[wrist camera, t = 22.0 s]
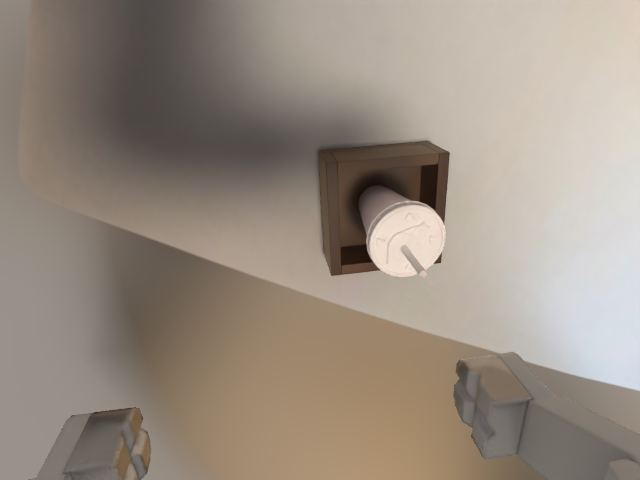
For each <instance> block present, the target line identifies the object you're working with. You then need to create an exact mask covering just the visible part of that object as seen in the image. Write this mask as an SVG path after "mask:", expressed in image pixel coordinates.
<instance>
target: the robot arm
mask: <svg viewBox="0 0 640 480" xmlns="http://www.w3.org/2000/svg"><path fill="white" fill-rule="evenodd" d="M456 373H457V375H458V377H459V378H460V379H459V380H458V381H457V383H456V384H455V385H454V400H455V406H456V408H457V411H458V414H459V416H460V418H461V419H462V421H463V422H464V423H465V424H467V425H468V426H470V427H471V428H472V434H471V437H472V439H473V441H474V443H475V444H476V446H477V448H478V450H479V451H480V453H481V455H482V457H483V458H484V459H491V458H499V457H506V456H512V455H517V457H518V458H519V459H521V460H522V461H523V462H525V463H526V464H527V465H529V466H530V467H531V468H532V469H534V470H535V471H536V472H538V473H539V474H540V475H541V476H543V477H544V478H545V479H547V480H640V434H638V433H636V432H633V431H632V430H629V429H627V428H625V427H623V426H621V425H619V424H617V423H615V422H613V421H611V420H609V419H607V418H605V417H603V416H601V415H599V414H597V413H595V412H593V411H591V410H589V409H587V408H585V407H583V406H581V405H579V404H577V403H575V402H573V401H571V400H568V399H566V398H564V397H562V396H554V395H553V394H552V392H551V391H550V390H549V389H548V388H547V387H546V386H545V384H544V383H543V382H542V381H541V380H540V379H539V378H538V377H537V375H535V373H534V372H533V371H532V370H531V369H530V368H529V366H528V365H527V364H526V363H525V362H524V361H523V360H522V358H521V357H520V356H519V355H518V354H516V353H514V352H509V353H503V354H496V355H491V356H485V357H478V358H471V359H465V360H459V361H458V363H457V366H456ZM142 420H143V417H142V414H141V411H140V409H139V408H136V407H134V408H127V409H118V410H110V411H101V412H94V413H90V414H81V415H72V416H71V417H70V418H69V419H68V420H67V421H66V422H65V424H64V426H63V428H62V430H61V432H60V434H59V435H58V437H57V439H56V441H55V443H54V445H53V447H52V449H51V451H50V453H49V455H48V456H47V459H46V460H45V462H44V464H43V466H42V468H41V470H40V472H39V474H38V476H37V477H36V478H35V479H29V480H141V479H142V478H143V477H144V476H145V475H146V474H147V471H148V467H149V463H150V453H151V446H150V439H149V435H148V432H147V431H146V430H144V429H143V428H141V423H142Z"/></svg>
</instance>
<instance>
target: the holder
mask: <svg viewBox="0 0 640 480" xmlns="http://www.w3.org/2000/svg"><path fill="white" fill-rule="evenodd" d="M449 155H450V153H449V152H448V151H446V150H444V149H442V148H440V147H438V146H436V145H434V144H432V143H431V142H428V141H427V142H415V143H403V144H391V145H380V146H368V147H356V148H344V149H332V150H320V151H318V158H319V176H320V194H321V212H322V230H323V248H324V255H325V258H326V261H327V264H328V267H329V270H330V273H331V276H334V275H341V274H342V275H343V274H352V273H360V272H369V271H377V270H380V269H379V268H378V267H377V266H376V265H375V263H374V262H373V261H372V259H371V258H370V256H369V253H368V251H367V245H366V239H367V235H366V231H365V228H364V225H363V221H362V218H361V214H360V211H359V207H358V202H359V198H360V196H361V194H362V193H363V192H364V191H365V190H366V189H367V188H369V187H371V186H375V185H381V186H384V187H387V188H388V189H390V190H392V191H394V192H396V193H398V194H399V195H401V196H403V197H405V198H407V199H409V200H411V201H418V202H421V203H424V204H426V205H428V206H429V207H431V208H432V209H434V211H435V212H436V213H437V215H438V216H439V217H440V218H441V220H442V221H443V224H444V218H445V206H446V193H447V180H448V167H449ZM441 257H442V252H441V254H440V256H439V257H438V259H437V260H436V261H435V262H434V263H433V264H435V263H441Z"/></svg>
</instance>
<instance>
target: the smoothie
mask: <svg viewBox="0 0 640 480" xmlns="http://www.w3.org/2000/svg"><path fill="white" fill-rule="evenodd" d="M358 207H359V211H360V214H361V218H362V221H363V225H364V228H365V231H366V235H367V239H366V245H367V251H368V253H369V256H370V258H371V259H372V261H373V262H374V263H375V265H376V266H377V267H378V268H379V269H380V270H381V271H383V272H384V273H386V274H389V275H392V276H396V277H407V276H412V275H416V274H419V276H420V277H425V276H426V275H427V272H426V269H427V268H429V267H430V266H431V265H432V264H433V263H434V262H435V261H436V260H437V259H438V257H439V256H440V254H441V252H442V250H443V248H444V245H445V240H446V231H445V227H444V224H443V221H442V220H441V218H440V217H439V216H438V215H437V213H436V212H435V211H434V209H432V208H431V207H429V206H428V205H426V204H424V203H421V202H418V201H411V200H409V199H407V198H405V197H403V196H401V195H399V194H398V193H396V192H394V191H392V190H390V189H388V188H387V187H384V186H381V185H375V186H371V187H369V188H367V189H366V190H365V191H364V192H363V193H362V194H361V196H360V198H359V202H358Z"/></svg>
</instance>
